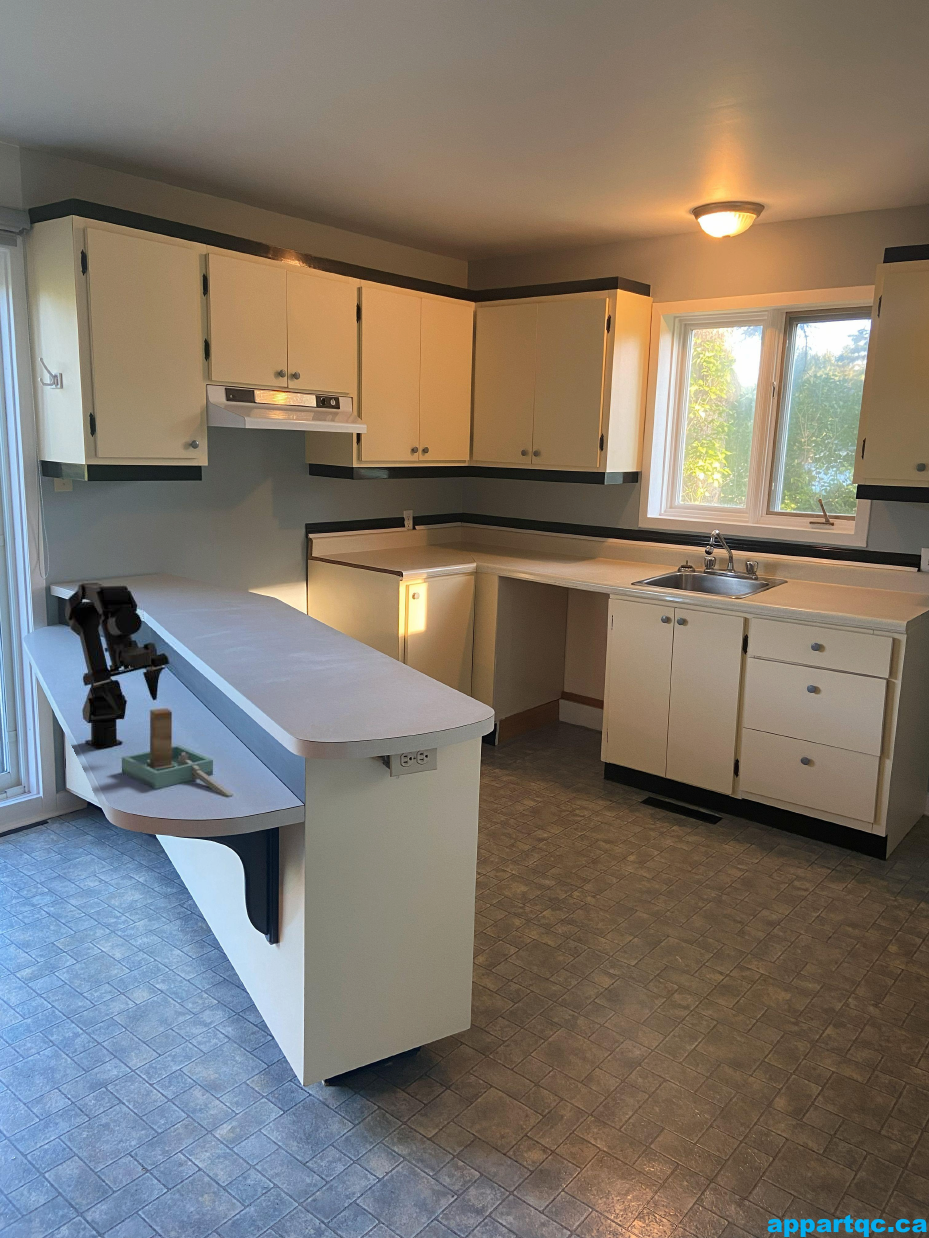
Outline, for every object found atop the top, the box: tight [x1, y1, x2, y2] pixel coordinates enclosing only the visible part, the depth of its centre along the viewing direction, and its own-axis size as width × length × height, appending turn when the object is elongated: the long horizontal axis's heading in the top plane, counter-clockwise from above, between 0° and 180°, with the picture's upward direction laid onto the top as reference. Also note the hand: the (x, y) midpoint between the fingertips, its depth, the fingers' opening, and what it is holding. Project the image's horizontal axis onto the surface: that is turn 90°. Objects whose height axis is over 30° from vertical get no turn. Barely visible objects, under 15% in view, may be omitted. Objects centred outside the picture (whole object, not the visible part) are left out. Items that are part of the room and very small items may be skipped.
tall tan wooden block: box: [146, 707, 175, 771], centre depth 196 cm, size 6×4×14 cm
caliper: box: [178, 752, 234, 798], centre depth 192 cm, size 20×1×6 cm, turn 50°
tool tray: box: [121, 744, 214, 790], centre depth 197 cm, size 14×14×4 cm
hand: (137, 705), depth 203 cm, fingers open, 9 cm apart
